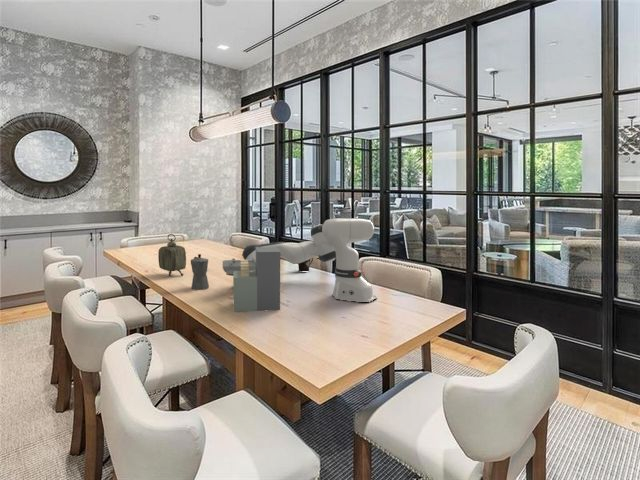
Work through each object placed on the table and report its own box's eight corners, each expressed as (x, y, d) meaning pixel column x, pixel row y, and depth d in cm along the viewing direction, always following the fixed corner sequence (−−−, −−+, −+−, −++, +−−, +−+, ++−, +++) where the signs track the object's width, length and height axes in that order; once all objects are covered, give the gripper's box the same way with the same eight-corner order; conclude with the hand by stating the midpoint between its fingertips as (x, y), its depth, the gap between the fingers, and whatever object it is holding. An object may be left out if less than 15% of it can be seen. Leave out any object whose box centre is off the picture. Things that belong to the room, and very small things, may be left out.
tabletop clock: (186, 276, 238) (185, 234, 234) (173, 278, 230) (172, 235, 227) (170, 272, 245) (169, 232, 242) (157, 275, 238) (156, 233, 234)
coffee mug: (299, 273, 251) (299, 257, 250) (295, 270, 259) (295, 255, 258) (316, 272, 255) (317, 256, 254) (312, 269, 263) (312, 254, 262)
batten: (240, 267, 192) (240, 260, 192) (248, 267, 193) (248, 260, 192) (240, 276, 173) (240, 268, 172) (249, 276, 173) (249, 268, 173)
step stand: (234, 302, 186) (233, 247, 182) (277, 300, 190) (277, 246, 186) (233, 311, 172) (233, 252, 169) (280, 309, 176) (280, 251, 173)
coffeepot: (213, 289, 209) (212, 255, 206) (194, 291, 203) (194, 256, 201) (203, 283, 221) (203, 251, 219) (186, 285, 216) (185, 252, 214)
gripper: (264, 274, 206) (265, 265, 193) (223, 275, 201) (222, 266, 189) (263, 262, 208) (265, 253, 195) (223, 263, 204) (222, 253, 191)
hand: (243, 259), depth 192 cm, fingers open, 8 cm apart
